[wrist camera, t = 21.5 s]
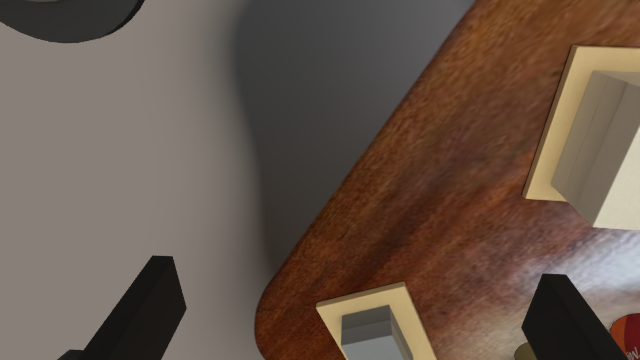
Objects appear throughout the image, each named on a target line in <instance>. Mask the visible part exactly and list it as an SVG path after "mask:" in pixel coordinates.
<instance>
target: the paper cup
mask: <svg viewBox="0 0 640 360" xmlns="http://www.w3.org/2000/svg"><path fill="white" fill-rule="evenodd" d="M610 333H611V335H612V337H613V339H614V340H615V342H616V343H617V344H618V346H619V347H620V348H621V350H622V351H623V352H624V354H625V355H626V356H627V358H628V359H629V360H640V314H631V315H627V316H624V317H622V318H620V319H619V320H617V321H616V322H615V323H614V324H613V325H612V327H611V329H610Z"/></svg>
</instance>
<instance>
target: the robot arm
mask: <svg viewBox="0 0 640 360" xmlns="http://www.w3.org/2000/svg"><path fill="white" fill-rule="evenodd" d="M28 1H35V2H55V1H63V0H28ZM185 311H186V304H185V300H184V297H183V293H182V289H181V286H180V282H179V279H178V275H177V271H176V268H175V264H174V260H173V257H172V256H152V257H151V258H150V260H149V261H148V262H147V264H146V265H145V267H144V268H143V269H142V271H141V272H140V273H139V275H138V276H137V278H136V279H135V280H134V282H133V283H132V284H131V286H130V287H129V289H128V290H127V291H126V293H125V294H124V296H123V297H122V298H121V300H120V301H119V302H118V304H117V305H116V306H115V308H114V309H113V310H112V312H111V313H110V315H109V316H108V317H107V319H106V320H105V321H104V323H103V324H102V326H101V327H100V328H99V330H98V331H97V332H96V334H95V335H94V337H93V338H92V339H91V341H90V342H89V343H88V345H87V346H86V348H85V349H84V350H69V351H67V352H66V353H65V354H64V355H62V356H61V357H60V358H59V359H57V360H161V359H162V357H163V355H164V353H165V351H166V349H167V347H168V344H169V343H170V341H171V339H172V337H173V335H174V333H175V331H176V329H177V327H178V325H179V323H180V321H181V319H182V317H183V315H184V313H185ZM521 328H522V330H523V332H524V334H525V336H526V338H527V340H528V342H529V344H530V346H531V348H532V350H533V352H534V354H535V356H536V359H537V360H629V359H628V358H627V356H626V355H625V354H624V352H623V351H622V350H621V348H620V347H619V346H618V344H617V343H616V342H615V340H614V339H613V338H612V336H611V335H610V333H609V332H608V331H607V329H606V328H605V327H604V325H603V324H602V323H601V321H600V320H599V319H598V317H597V316H596V315H595V313H594V312H593V311H592V309H591V308H590V306H589V305H588V304H587V302H586V301H585V300H584V298H583V297H582V296H581V294H580V293H579V292H578V290H577V289H576V288H575V286H574V285H573V283H572V282H571V281H570V279H569V278H568V277H567V275H562V274H542V277H541V279H540V282H539V284H538V287H537V289H536V292H535V294H534V297H533V299H532V302H531V304H530V307H529V309H528V312H527V314H526V317H525V319H524V322H523V324H522V327H521Z"/></svg>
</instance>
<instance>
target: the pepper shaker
mask: <svg viewBox="0 0 640 360" xmlns="http://www.w3.org/2000/svg"><path fill="white" fill-rule="evenodd" d="M514 356H515V360H537V359H536V356H535V354H534V352H533V350H532V348H531V346H530V344H529V342H527V343H525V344H523V345H521V346H520V347H519V348H518V349H517V350H516V352H515V355H514Z"/></svg>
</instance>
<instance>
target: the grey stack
mask: <svg viewBox="0 0 640 360" xmlns="http://www.w3.org/2000/svg"><path fill="white" fill-rule="evenodd" d="M316 309H317V311H318V312H319V314H320V316H321V317H322V319H323V321H324V323H325V324H326V326H327V328H328V329H329V331H330V333H331V334H332V336H333V338H334V339H335V341H336V343H337V345H338V346H339V348H340V350H341V351H342V353H343V355H344V356H345V358H346V360H437V358H436V355H435V352H434V350H433V348H432V345H431V343H430V341H429V338H428V336H427V334H426V331H425V329H424V327H423V324H422V322H421V320H420V317H419V315H418V313H417V310H416V308H415V306H414V303H413V301H412V299H411V296H410V294H409V292H408V289H407V287H406V285H405V282H404V281H402V282H398V283H394V284H390V285H386V286H382V287H378V288H374V289H370V290H366V291H362V292H358V293H354V294H350V295H346V296H342V297H338V298H334V299H330V300H326V301H322V302H318V303H316Z"/></svg>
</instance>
